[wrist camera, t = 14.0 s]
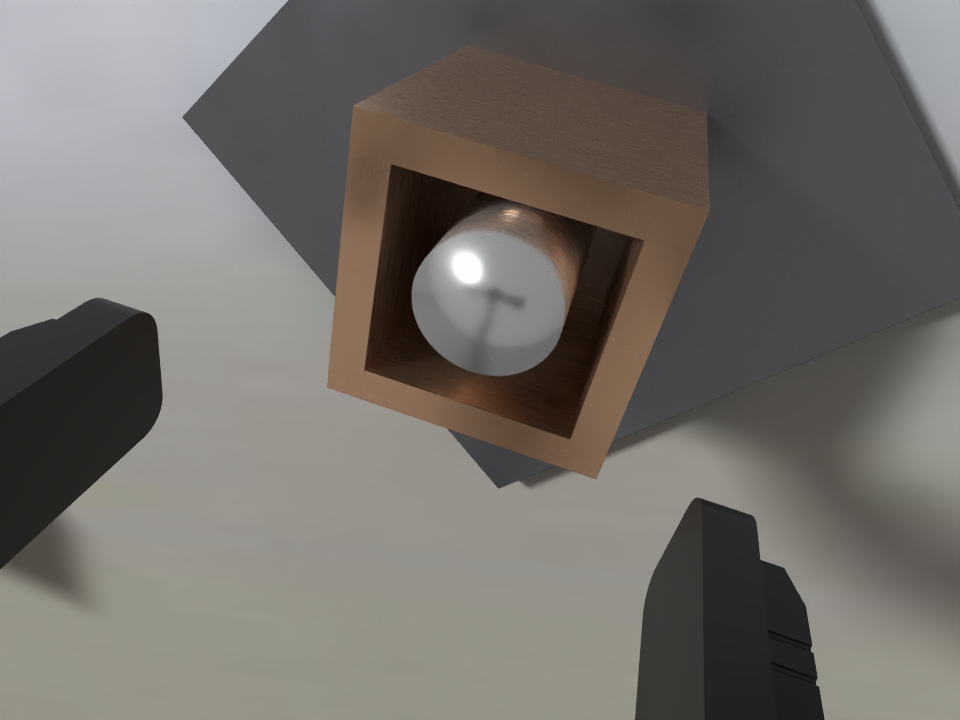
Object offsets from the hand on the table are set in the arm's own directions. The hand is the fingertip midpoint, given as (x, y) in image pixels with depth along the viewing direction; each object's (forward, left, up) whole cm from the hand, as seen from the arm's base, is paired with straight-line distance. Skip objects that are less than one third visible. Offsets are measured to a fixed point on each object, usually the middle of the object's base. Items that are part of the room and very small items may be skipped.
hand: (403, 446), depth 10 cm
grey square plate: (0, 0, -12) cm, 12 cm away
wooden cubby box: (0, 0, -11) cm, 11 cm away
